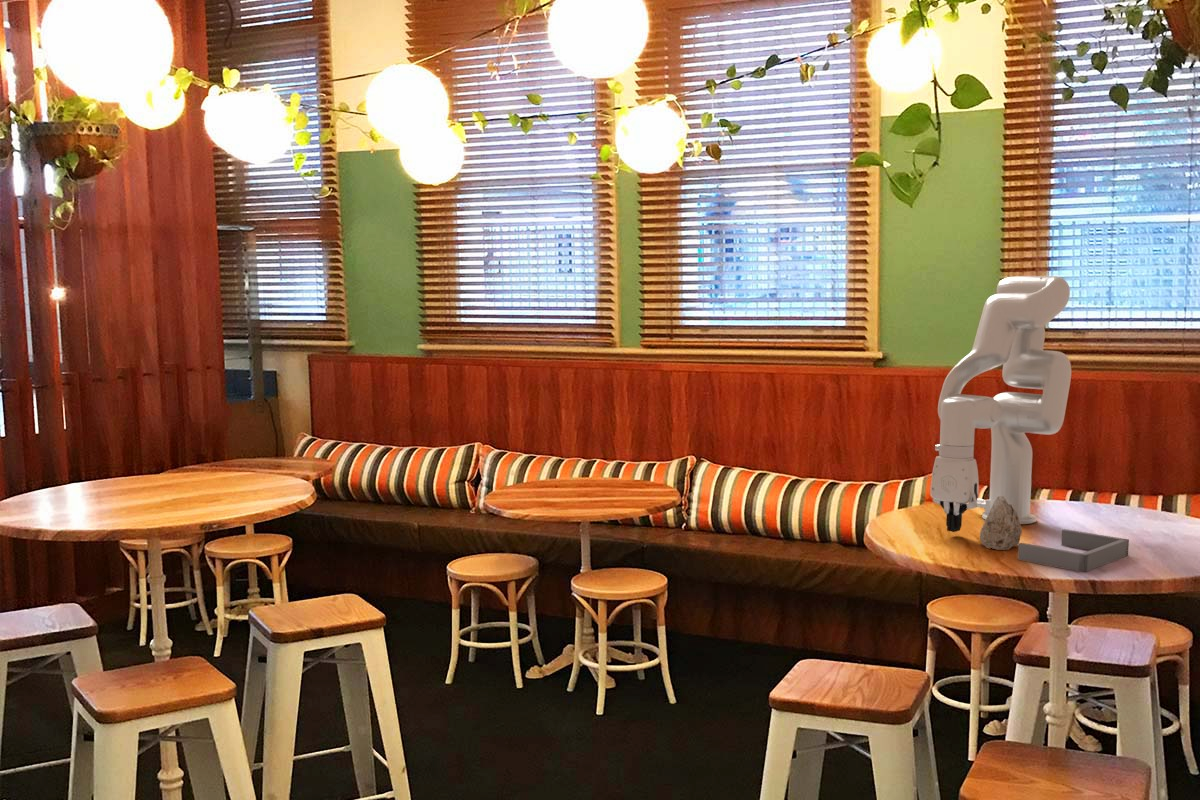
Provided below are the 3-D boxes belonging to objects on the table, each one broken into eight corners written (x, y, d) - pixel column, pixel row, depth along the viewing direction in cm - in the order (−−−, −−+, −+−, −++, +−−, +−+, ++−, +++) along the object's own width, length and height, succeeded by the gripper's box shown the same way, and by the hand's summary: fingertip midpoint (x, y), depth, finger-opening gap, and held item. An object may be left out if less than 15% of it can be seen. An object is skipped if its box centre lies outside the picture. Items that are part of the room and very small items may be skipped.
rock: (1040, 525, 251) (1005, 512, 250) (1019, 565, 254) (984, 553, 254) (1022, 499, 264) (989, 488, 263) (1002, 538, 267) (970, 527, 267)
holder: (1018, 559, 245) (1018, 543, 245) (1063, 544, 260) (1064, 529, 259) (1084, 572, 235) (1085, 555, 234) (1128, 555, 249) (1128, 539, 249)
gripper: (918, 450, 269) (916, 528, 270) (978, 457, 258) (975, 538, 260) (936, 447, 274) (933, 523, 276) (995, 454, 263) (991, 533, 265)
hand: (953, 530), depth 268 cm, fingers closed
